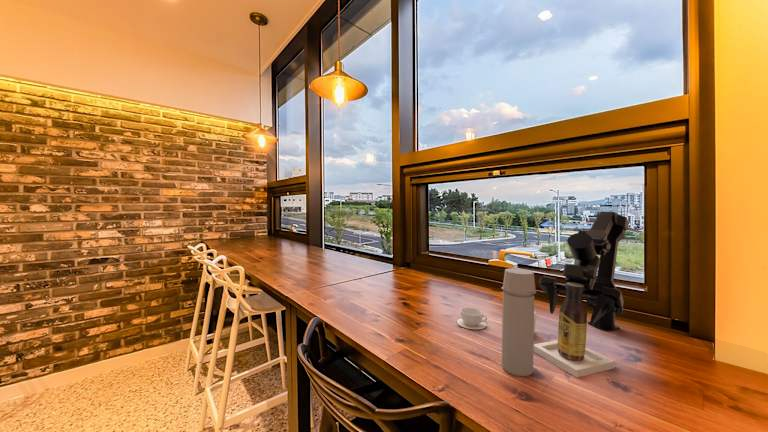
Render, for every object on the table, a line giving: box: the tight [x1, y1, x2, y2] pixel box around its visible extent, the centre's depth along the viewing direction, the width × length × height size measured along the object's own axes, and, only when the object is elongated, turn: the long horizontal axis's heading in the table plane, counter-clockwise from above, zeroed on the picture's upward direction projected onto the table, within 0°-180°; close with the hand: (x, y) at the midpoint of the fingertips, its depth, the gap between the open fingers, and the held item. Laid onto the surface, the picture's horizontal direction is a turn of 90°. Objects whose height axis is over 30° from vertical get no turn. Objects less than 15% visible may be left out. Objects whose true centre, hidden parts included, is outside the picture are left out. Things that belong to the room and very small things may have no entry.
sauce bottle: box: [557, 282, 588, 361], centre depth 75 cm, size 6×6×20 cm
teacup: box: [456, 307, 488, 330], centre depth 97 cm, size 10×10×5 cm
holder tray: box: [533, 339, 616, 378], centre depth 75 cm, size 13×13×2 cm
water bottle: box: [500, 267, 537, 378], centre depth 70 cm, size 9×8×25 cm
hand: (570, 318), depth 73 cm, fingers open, 9 cm apart
